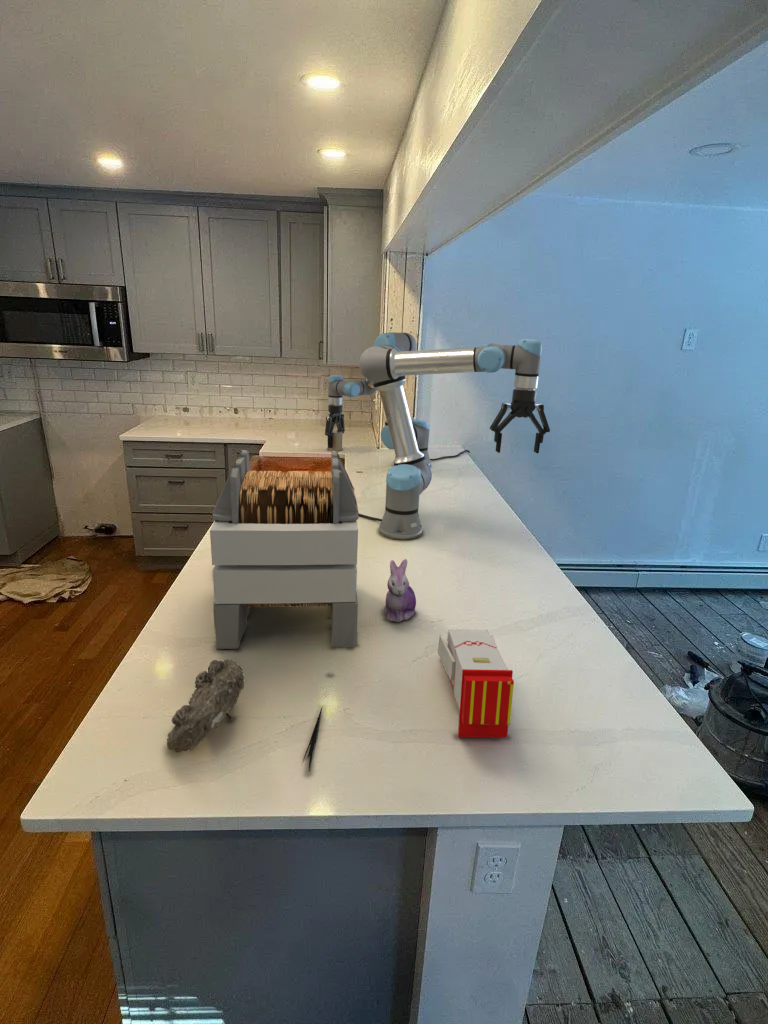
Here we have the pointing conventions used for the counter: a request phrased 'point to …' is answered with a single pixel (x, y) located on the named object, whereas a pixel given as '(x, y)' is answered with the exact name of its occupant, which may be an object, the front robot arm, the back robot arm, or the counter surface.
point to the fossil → (206, 705)
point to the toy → (478, 682)
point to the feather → (313, 740)
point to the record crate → (285, 547)
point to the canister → (336, 441)
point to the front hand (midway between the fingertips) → (517, 452)
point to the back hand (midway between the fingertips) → (334, 446)
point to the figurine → (399, 594)
